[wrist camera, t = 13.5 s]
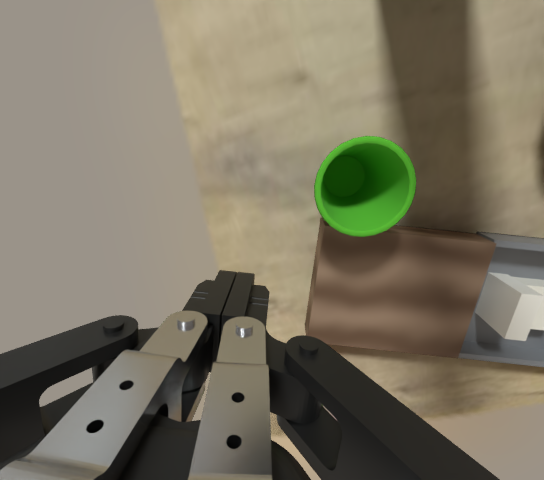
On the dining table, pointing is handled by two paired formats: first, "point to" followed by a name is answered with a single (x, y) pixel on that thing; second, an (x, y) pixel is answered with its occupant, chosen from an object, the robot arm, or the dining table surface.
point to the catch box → (481, 336)
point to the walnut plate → (397, 289)
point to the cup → (365, 186)
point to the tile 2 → (540, 322)
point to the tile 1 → (508, 306)
